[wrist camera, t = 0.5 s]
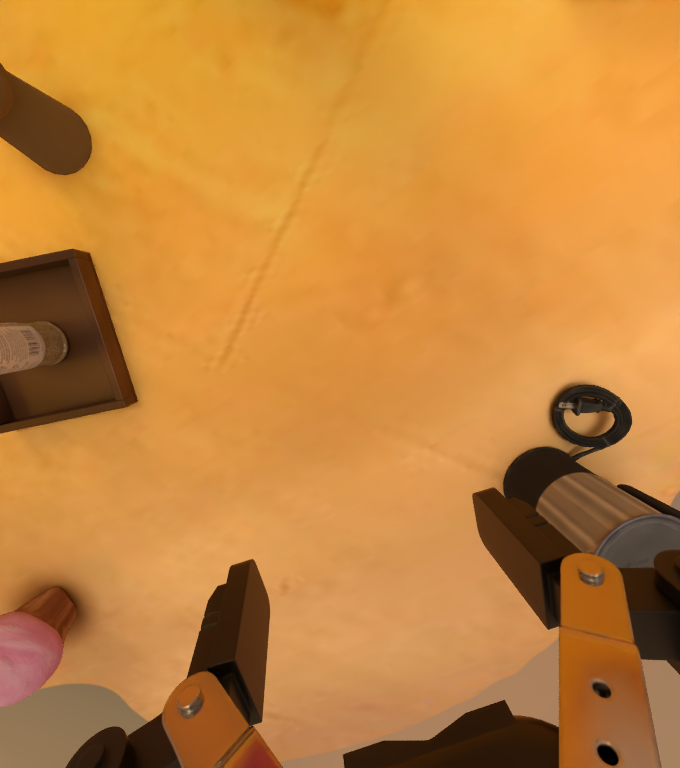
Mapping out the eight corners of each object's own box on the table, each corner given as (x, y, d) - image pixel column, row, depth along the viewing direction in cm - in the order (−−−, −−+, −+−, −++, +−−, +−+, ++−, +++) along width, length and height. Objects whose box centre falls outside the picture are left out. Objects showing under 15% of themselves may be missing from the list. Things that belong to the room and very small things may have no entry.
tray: (-47, 280, 36) (-73, 277, 33) (89, 252, 36) (72, 248, 34) (13, 427, 39) (-7, 435, 37) (138, 401, 39) (125, 407, 37)
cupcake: (60, 560, 42) (-17, 635, 33) (110, 611, 44) (51, 697, 34) (2, 599, 43) (-93, 684, 33) (53, 649, 45) (-22, 743, 35)
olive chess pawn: (47, 185, 35) (-75, 128, 24) (10, 120, 34) (-136, 29, 23) (104, 158, 35) (6, 89, 24) (68, 92, 33) (-51, -13, 23)
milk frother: (507, 525, 45) (599, 628, 30) (484, 406, 42) (574, 457, 27) (618, 494, 45) (763, 582, 30) (604, 373, 42) (757, 406, 27)
